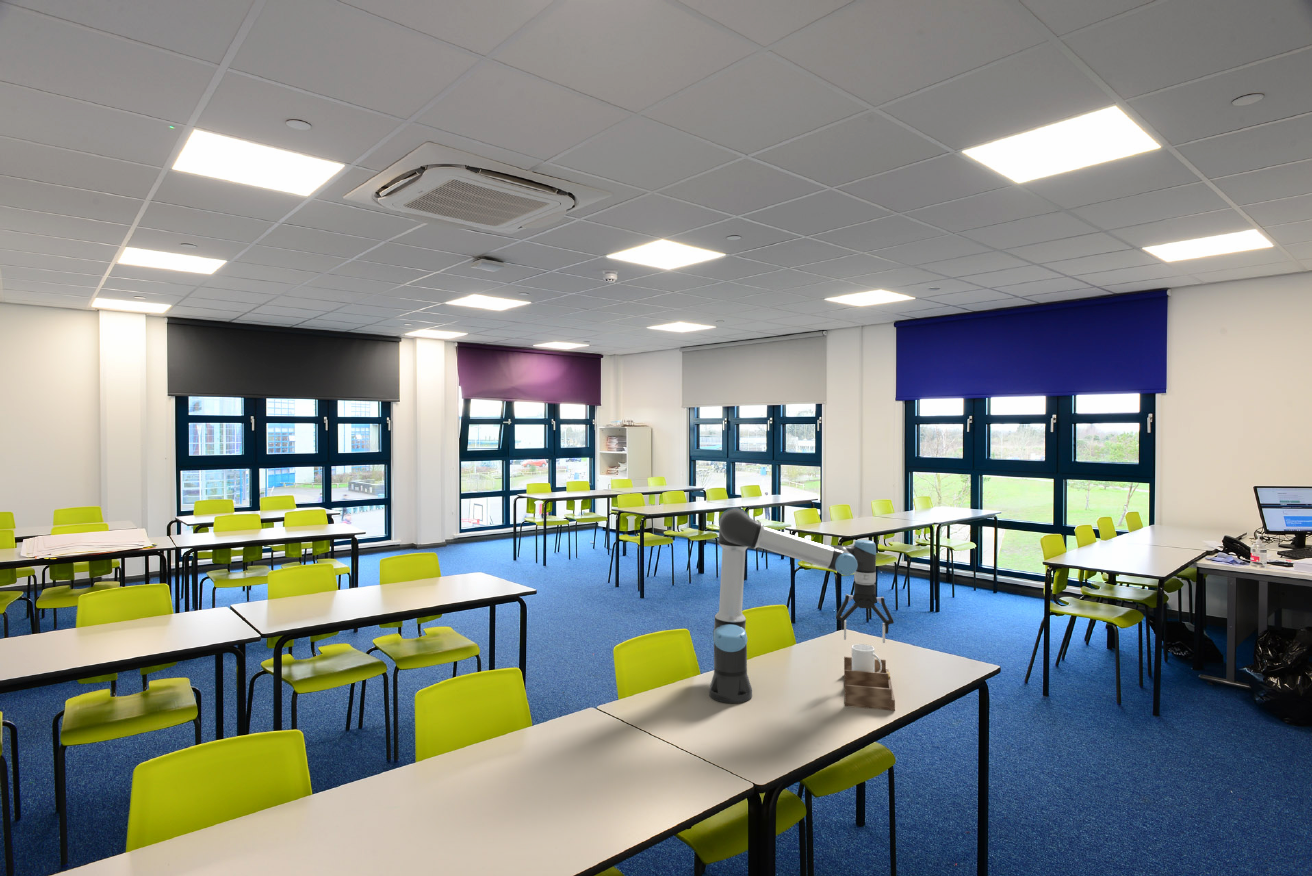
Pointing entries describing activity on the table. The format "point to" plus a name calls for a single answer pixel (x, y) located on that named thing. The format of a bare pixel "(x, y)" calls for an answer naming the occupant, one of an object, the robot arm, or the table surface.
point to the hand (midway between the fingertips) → (864, 640)
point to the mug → (864, 658)
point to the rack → (868, 687)
